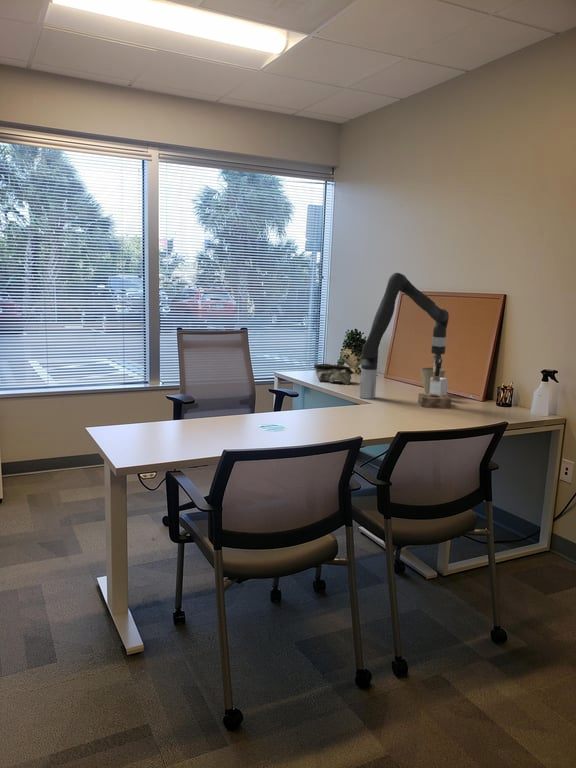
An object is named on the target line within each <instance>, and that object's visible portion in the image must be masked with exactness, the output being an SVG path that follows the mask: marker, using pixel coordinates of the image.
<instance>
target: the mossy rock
mask: <svg viewBox="0 0 576 768" xmlns="http://www.w3.org/2000/svg"><path fill="white" fill-rule="evenodd" d="M313 369H315V373H316V377H317V379H318V381H319V382H329V383H333V382H336V381H340V382H342V384H343V385H349V384H350V382H351V380H352V376H351V375H354V373H355V372H354V371H353V370H352V369H351V368H350V367H349V366H346V365H336V364H330V363H320V364H319V363H317V364H316V363H315V364H314V365H313Z"/></svg>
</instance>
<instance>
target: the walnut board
mask: <svg viewBox="0 0 576 768" xmlns="http://www.w3.org/2000/svg"><path fill="white" fill-rule="evenodd" d="M417 403H418V404H419V405H420V407H421V408H435V409H451V408H452V398H451V397H449V395H448V394H447V395H441V394H426V393H418V401H417Z"/></svg>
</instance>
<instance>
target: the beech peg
mask: <svg viewBox="0 0 576 768" xmlns="http://www.w3.org/2000/svg"><path fill="white" fill-rule="evenodd" d="M436 364H437V363H436ZM438 367H439V365H438ZM435 368H436V366H435V363H434V366H433V380H432V381H436V382H439V381H440V373H441V372H440V373H439V376H435V370H436V369H435ZM440 371H441V369H440Z"/></svg>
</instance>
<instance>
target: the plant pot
mask: <svg viewBox="0 0 576 768" xmlns="http://www.w3.org/2000/svg"><path fill="white" fill-rule="evenodd" d="M433 367H434V366H433ZM433 367H430V366H429V367H421V368H420V373H421V374H420V375H421V381H422V386H423V389H424V394H429V392H430V379H431V377H433ZM440 372H441V373H440V377H441V378H445V373H446V369H445V368H442V367H441V371H440Z"/></svg>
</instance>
